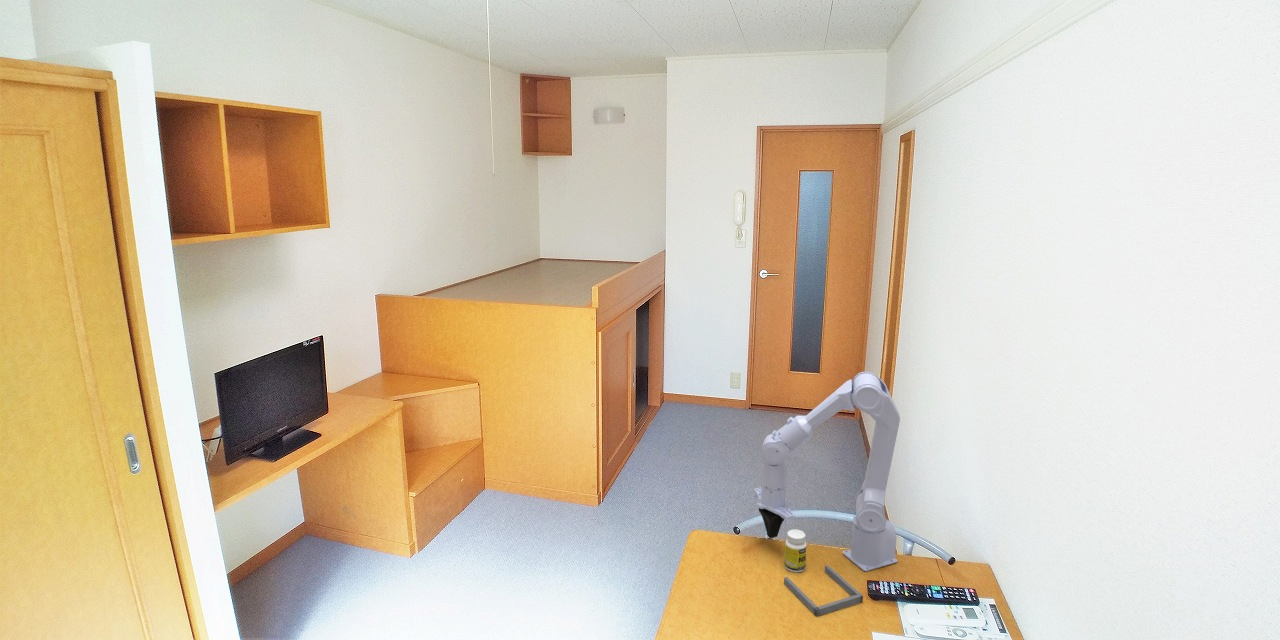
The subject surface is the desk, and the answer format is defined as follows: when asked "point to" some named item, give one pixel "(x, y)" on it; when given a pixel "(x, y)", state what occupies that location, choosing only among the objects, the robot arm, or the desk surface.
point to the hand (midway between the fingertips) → (772, 536)
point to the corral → (832, 606)
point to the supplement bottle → (795, 551)
